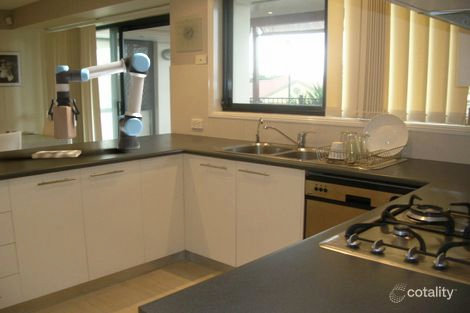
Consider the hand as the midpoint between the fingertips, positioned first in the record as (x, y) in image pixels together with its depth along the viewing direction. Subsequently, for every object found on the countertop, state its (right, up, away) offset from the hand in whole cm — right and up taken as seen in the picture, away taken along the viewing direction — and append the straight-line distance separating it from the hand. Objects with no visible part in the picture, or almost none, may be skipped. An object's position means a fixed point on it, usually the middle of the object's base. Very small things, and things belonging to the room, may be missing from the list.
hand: (65, 126), depth 285 cm
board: (-6, -19, +2) cm, 20 cm away
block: (0, -8, +1) cm, 8 cm away
